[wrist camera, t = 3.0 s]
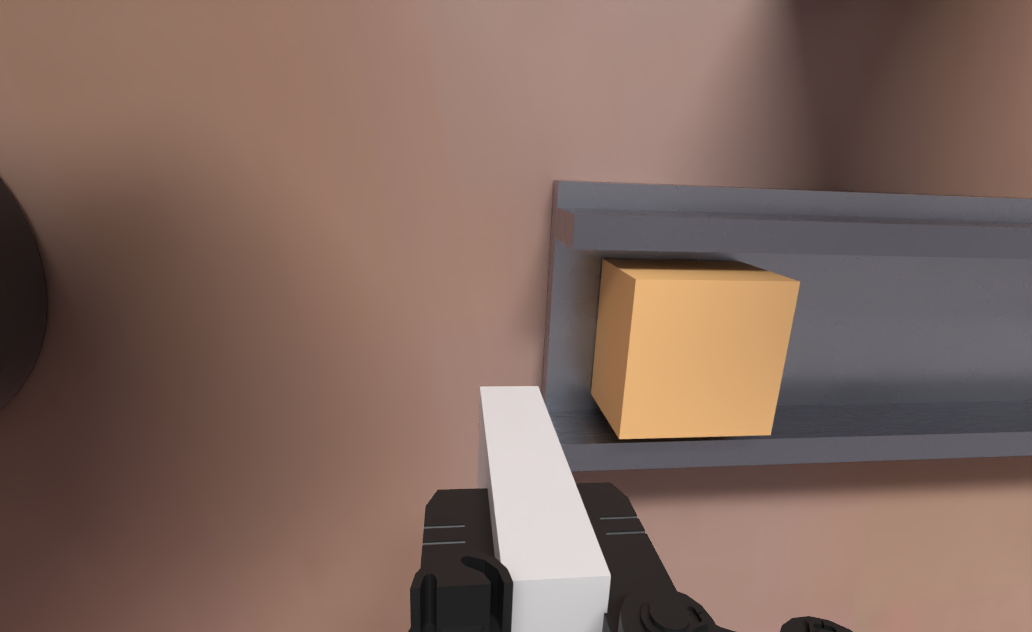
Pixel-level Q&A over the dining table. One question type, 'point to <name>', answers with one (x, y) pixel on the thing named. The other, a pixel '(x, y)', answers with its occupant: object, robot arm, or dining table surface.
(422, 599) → the robot arm
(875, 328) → the chute
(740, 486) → the dining table surface
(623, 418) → the block
